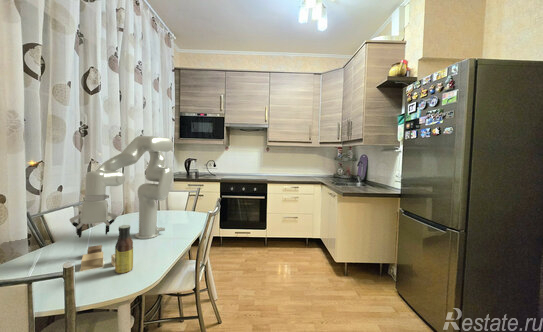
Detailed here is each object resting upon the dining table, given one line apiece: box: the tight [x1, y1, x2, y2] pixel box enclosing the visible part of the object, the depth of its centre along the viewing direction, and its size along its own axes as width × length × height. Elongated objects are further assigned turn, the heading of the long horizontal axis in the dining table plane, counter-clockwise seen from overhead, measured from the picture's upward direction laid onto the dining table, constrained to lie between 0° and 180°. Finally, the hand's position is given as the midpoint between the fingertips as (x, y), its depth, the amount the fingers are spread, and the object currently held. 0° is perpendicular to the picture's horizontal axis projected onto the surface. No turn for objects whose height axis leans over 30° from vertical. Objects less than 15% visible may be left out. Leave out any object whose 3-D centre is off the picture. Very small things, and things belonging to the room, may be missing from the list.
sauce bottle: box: [114, 224, 134, 275], centre depth 95 cm, size 6×6×20 cm
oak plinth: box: [80, 251, 104, 272], centre depth 98 cm, size 7×7×4 cm
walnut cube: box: [86, 244, 103, 254], centre depth 107 cm, size 5×5×5 cm
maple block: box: [110, 253, 115, 268], centre depth 101 cm, size 4×4×4 cm
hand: (93, 235), depth 106 cm, fingers open, 9 cm apart
